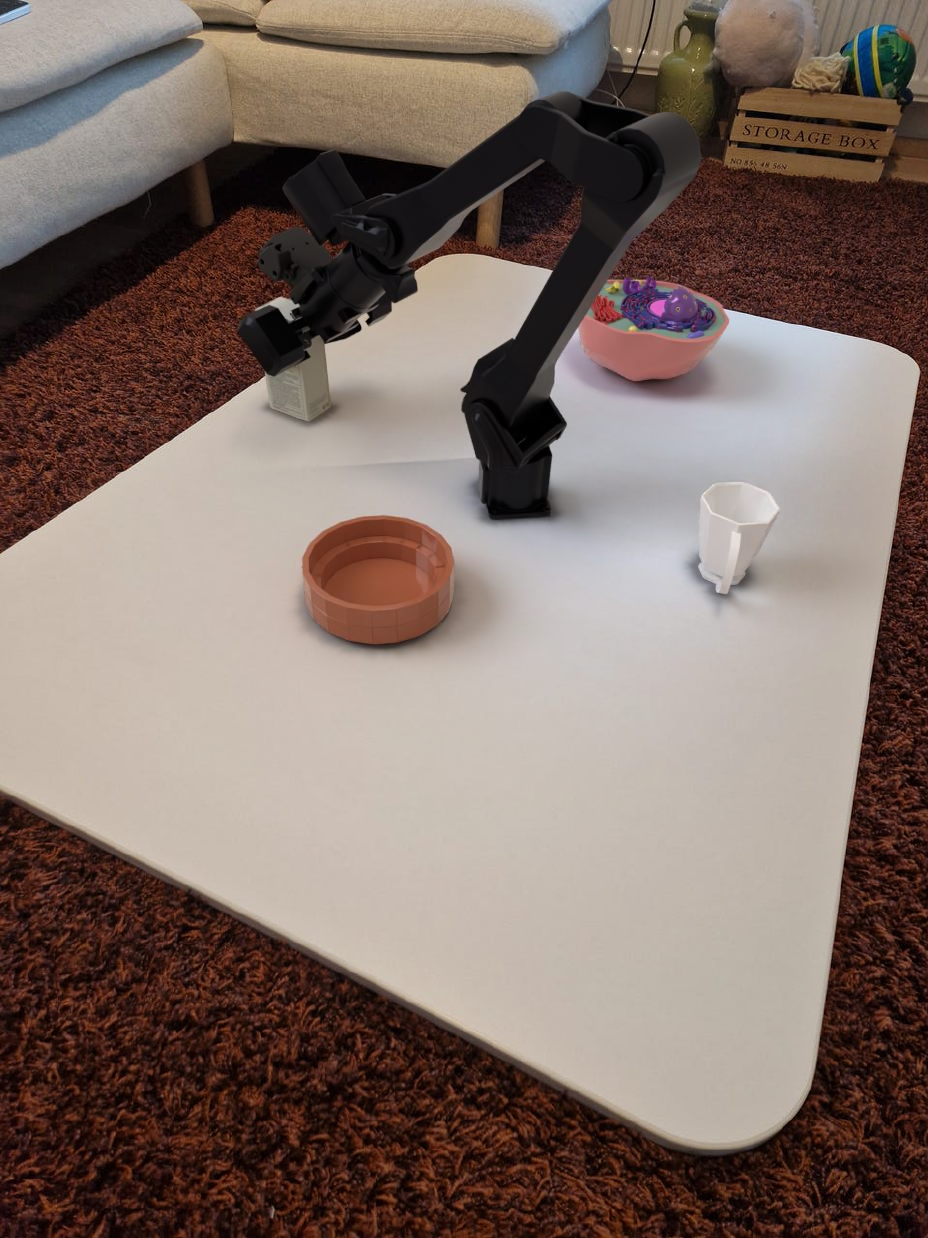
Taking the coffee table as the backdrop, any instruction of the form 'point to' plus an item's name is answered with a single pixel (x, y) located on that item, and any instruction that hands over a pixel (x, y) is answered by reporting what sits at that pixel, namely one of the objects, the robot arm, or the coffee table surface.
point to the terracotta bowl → (378, 579)
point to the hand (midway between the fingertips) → (284, 352)
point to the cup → (732, 530)
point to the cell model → (650, 328)
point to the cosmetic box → (300, 378)
